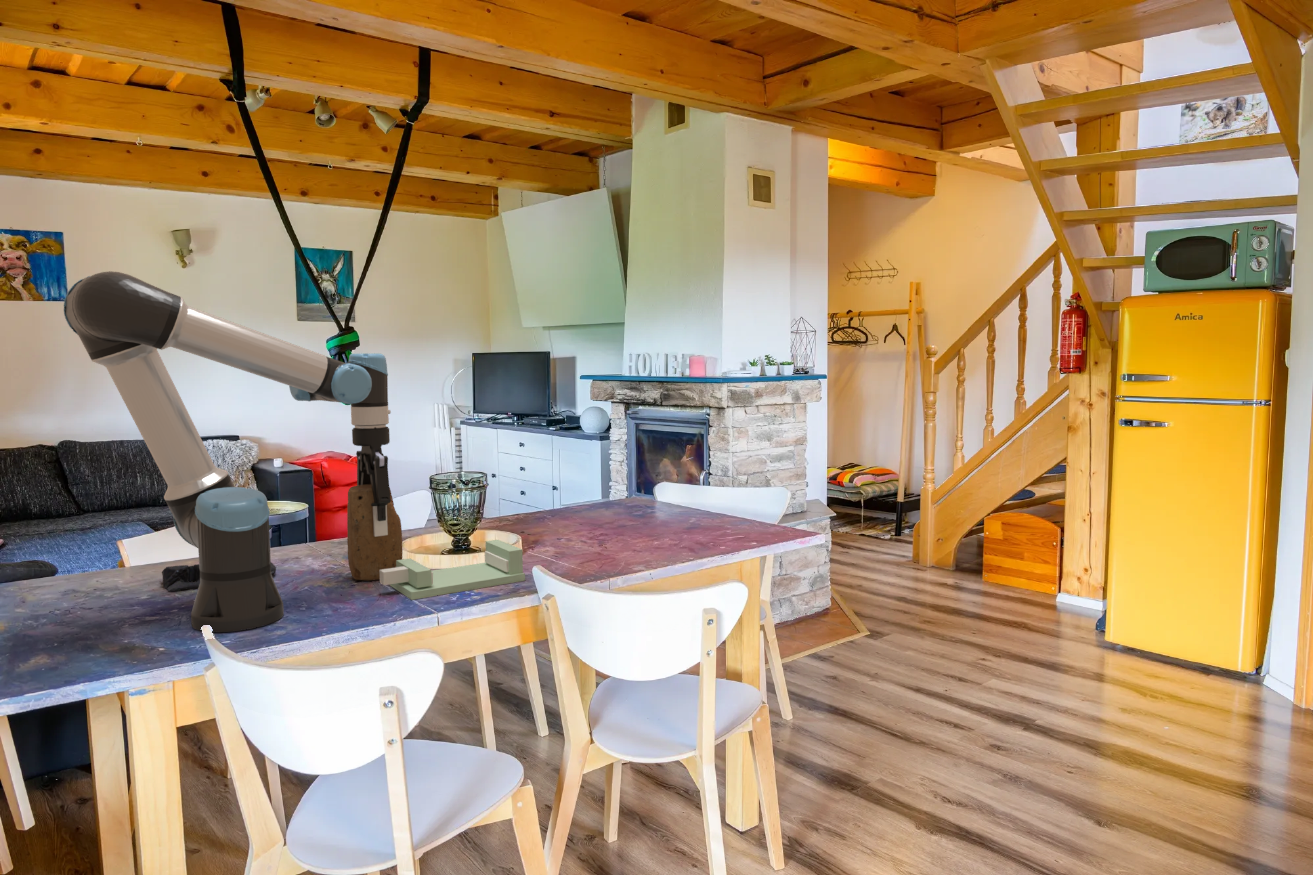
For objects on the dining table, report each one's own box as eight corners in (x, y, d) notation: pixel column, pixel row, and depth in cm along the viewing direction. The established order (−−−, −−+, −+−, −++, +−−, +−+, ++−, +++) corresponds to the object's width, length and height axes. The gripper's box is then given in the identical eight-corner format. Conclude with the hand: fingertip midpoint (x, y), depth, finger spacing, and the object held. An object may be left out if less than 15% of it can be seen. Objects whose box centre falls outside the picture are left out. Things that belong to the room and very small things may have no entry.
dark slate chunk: (279, 582, 188) (278, 560, 187) (161, 596, 177) (160, 573, 177) (273, 566, 201) (272, 546, 201) (162, 578, 191) (161, 557, 190)
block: (352, 583, 184) (348, 489, 182) (347, 575, 191) (343, 484, 189) (405, 577, 189) (402, 485, 187) (398, 569, 196) (395, 480, 194)
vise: (411, 599, 172) (410, 567, 171) (388, 584, 183) (387, 553, 183) (525, 580, 186) (524, 550, 185) (496, 567, 197) (496, 538, 197)
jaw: (391, 592, 171) (391, 575, 170) (372, 579, 180) (372, 563, 180) (434, 585, 176) (433, 569, 175) (413, 572, 185) (412, 557, 185)
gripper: (404, 428, 181) (408, 538, 183) (373, 422, 197) (376, 522, 200) (367, 430, 176) (371, 543, 179) (338, 423, 193) (343, 526, 195)
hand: (374, 532), depth 189 cm, fingers closed on block, 8 cm apart
